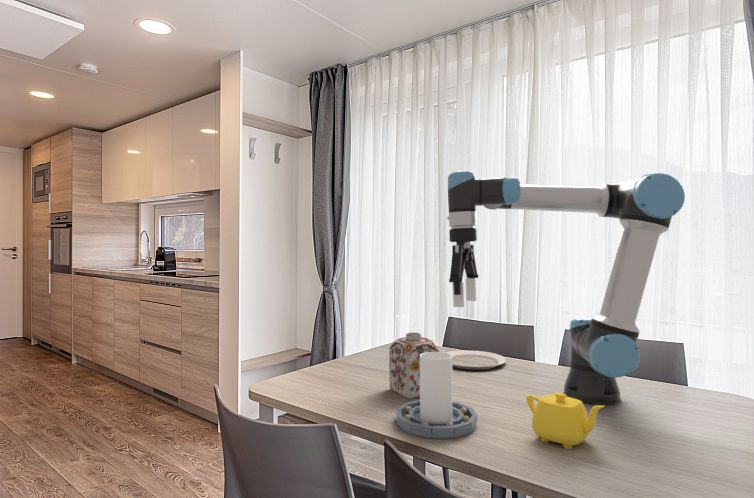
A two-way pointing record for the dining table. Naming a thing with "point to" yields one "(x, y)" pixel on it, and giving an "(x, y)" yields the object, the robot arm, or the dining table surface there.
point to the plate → (482, 354)
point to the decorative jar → (408, 363)
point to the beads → (464, 419)
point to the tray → (436, 428)
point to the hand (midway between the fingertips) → (465, 303)
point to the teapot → (561, 419)
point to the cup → (436, 387)
